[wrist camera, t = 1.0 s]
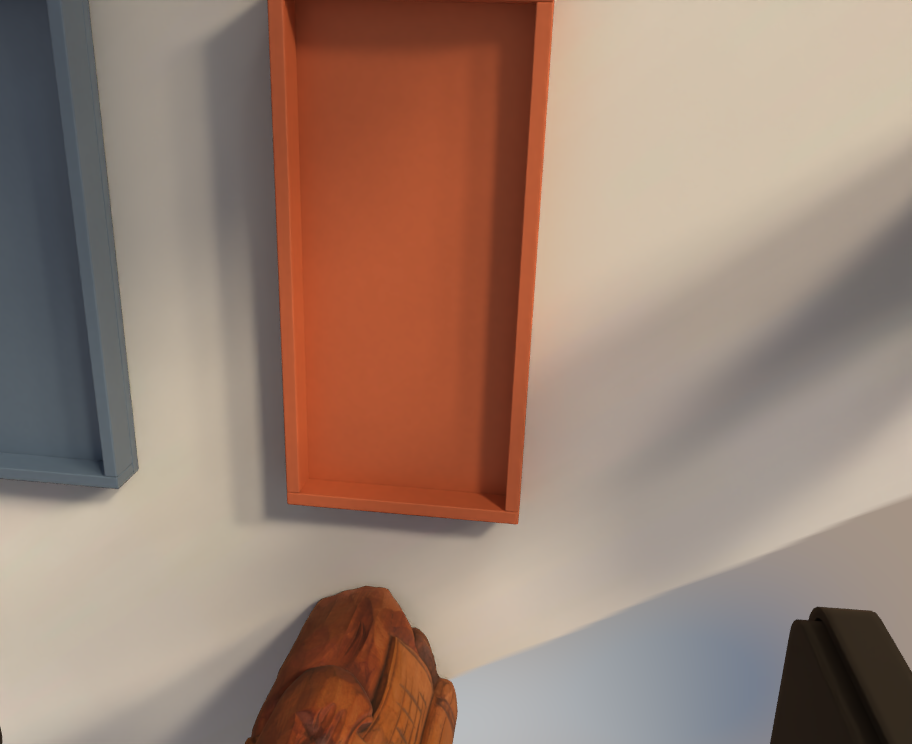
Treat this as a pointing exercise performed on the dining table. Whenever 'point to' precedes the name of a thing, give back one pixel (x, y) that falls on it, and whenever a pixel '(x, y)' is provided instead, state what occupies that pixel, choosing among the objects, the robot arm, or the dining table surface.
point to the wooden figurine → (358, 679)
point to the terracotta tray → (407, 247)
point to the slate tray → (58, 259)
